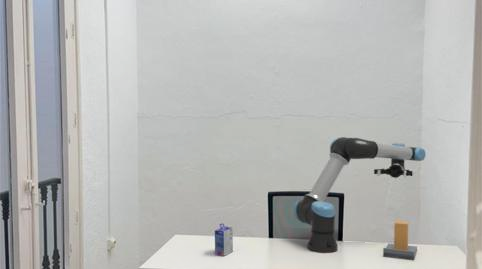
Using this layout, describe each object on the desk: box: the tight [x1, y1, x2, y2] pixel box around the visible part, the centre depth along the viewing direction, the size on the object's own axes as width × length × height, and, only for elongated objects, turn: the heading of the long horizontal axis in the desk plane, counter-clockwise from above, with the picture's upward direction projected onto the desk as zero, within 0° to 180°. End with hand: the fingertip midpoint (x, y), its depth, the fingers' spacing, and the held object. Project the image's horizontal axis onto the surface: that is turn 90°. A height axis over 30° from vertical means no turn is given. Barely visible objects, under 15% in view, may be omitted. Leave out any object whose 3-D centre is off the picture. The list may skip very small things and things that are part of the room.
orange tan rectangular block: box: [393, 220, 409, 250], centre depth 231 cm, size 6×6×13 cm
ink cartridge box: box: [214, 222, 234, 257], centre depth 225 cm, size 10×6×14 cm, turn 155°
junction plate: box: [382, 243, 418, 261], centre depth 230 cm, size 14×20×7 cm
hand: (391, 173), depth 247 cm, fingers open, 13 cm apart
